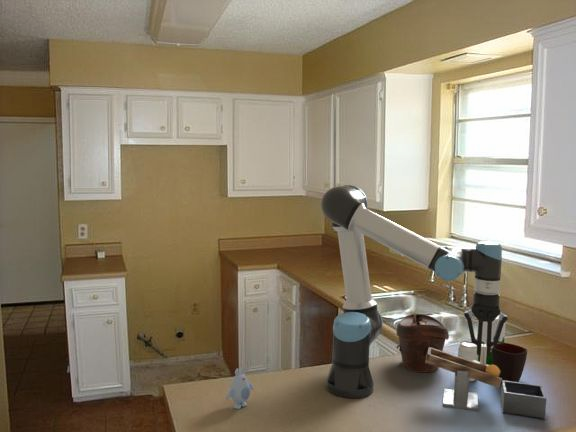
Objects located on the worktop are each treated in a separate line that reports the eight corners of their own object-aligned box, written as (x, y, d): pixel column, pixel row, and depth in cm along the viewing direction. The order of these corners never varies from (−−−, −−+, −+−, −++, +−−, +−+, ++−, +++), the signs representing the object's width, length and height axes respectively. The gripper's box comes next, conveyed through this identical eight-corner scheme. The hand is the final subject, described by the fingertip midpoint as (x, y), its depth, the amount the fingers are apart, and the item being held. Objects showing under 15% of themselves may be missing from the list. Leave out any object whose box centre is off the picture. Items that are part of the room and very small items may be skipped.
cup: (485, 381, 182) (487, 347, 181) (507, 372, 191) (509, 339, 189) (513, 392, 174) (515, 356, 173) (535, 381, 183) (537, 347, 181)
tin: (502, 413, 159) (504, 392, 159) (500, 400, 168) (502, 380, 167) (544, 419, 156) (546, 398, 155) (540, 406, 165) (541, 385, 164)
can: (461, 372, 189) (463, 339, 188) (479, 377, 185) (481, 343, 184) (453, 378, 184) (455, 344, 183) (472, 383, 180) (474, 348, 179)
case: (416, 351, 208) (418, 306, 206) (458, 369, 192) (461, 320, 190) (382, 361, 199) (383, 313, 196) (423, 381, 182) (425, 329, 180)
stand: (443, 405, 164) (445, 369, 162) (444, 390, 174) (445, 357, 173) (478, 411, 161) (480, 374, 159) (477, 395, 171) (479, 361, 170)
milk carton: (483, 356, 206) (487, 304, 203) (506, 363, 199) (510, 309, 197) (471, 361, 200) (474, 308, 198) (494, 369, 193) (498, 314, 191)
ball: (493, 364, 161) (503, 374, 161) (492, 359, 165) (502, 369, 165) (482, 372, 162) (492, 383, 162) (482, 367, 166) (492, 377, 166)
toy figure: (233, 416, 154) (233, 375, 153) (219, 408, 158) (219, 369, 157) (260, 404, 162) (260, 365, 160) (246, 397, 166) (246, 359, 165)
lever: (425, 362, 166) (427, 354, 165) (427, 347, 179) (430, 339, 179) (499, 387, 160) (502, 379, 160) (496, 370, 173) (498, 362, 173)
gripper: (464, 293, 167) (460, 367, 169) (510, 296, 163) (506, 372, 165) (464, 287, 174) (460, 358, 176) (508, 291, 170) (504, 363, 172)
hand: (482, 365), depth 171 cm, fingers closed
